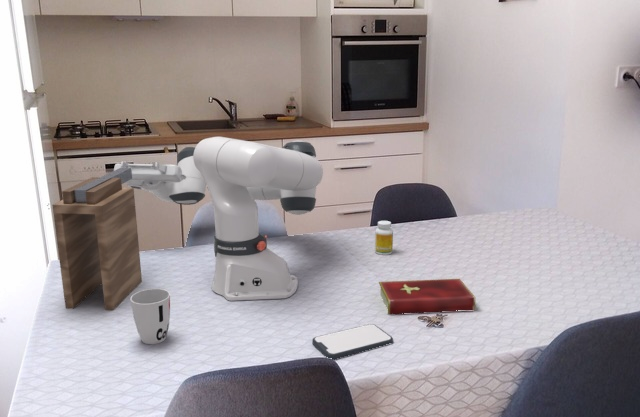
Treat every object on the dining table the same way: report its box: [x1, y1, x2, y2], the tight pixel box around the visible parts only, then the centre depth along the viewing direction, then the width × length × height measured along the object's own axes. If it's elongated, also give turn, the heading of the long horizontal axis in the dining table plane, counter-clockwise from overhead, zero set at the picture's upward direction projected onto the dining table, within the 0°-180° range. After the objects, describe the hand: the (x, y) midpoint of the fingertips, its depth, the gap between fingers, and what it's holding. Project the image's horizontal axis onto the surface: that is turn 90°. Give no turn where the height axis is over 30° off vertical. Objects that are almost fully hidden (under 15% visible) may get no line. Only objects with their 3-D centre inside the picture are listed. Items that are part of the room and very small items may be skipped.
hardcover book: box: [378, 278, 476, 315], centre depth 146 cm, size 12×21×4 cm, turn 95°
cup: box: [130, 288, 171, 345], centre depth 128 cm, size 8×8×10 cm
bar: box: [74, 168, 132, 203], centre depth 150 cm, size 3×26×3 cm, turn 174°
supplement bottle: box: [374, 220, 394, 256], centre depth 181 cm, size 5×5×10 cm
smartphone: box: [311, 323, 394, 360], centre depth 127 cm, size 9×2×16 cm
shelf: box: [52, 176, 143, 311], centre depth 148 cm, size 12×18×29 cm, turn 174°
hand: (138, 164), depth 173 cm, fingers open, 8 cm apart
